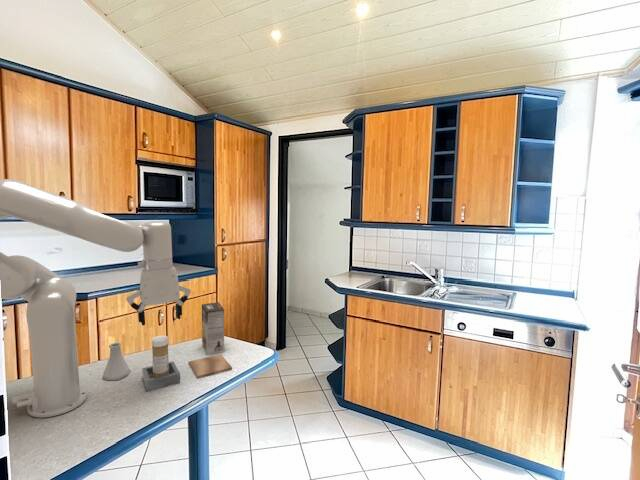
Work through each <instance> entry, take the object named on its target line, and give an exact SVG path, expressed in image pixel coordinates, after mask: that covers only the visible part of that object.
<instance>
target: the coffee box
mask: <svg viewBox="0 0 640 480" xmlns="http://www.w3.org/2000/svg"><path fill="white" fill-rule="evenodd" d="M201 343H202V344H201V345H202V348H203V349H204V352H205V354H206V355H207V356H208V355H209V356H210V355H214V354H215V355H216V354H220V353H223V352H225V308H224V307H223V305H221V303H220V302H219V301H217V302H210V303H203V304H201Z"/></svg>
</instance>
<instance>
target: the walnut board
mask: <svg viewBox="0 0 640 480" xmlns="http://www.w3.org/2000/svg"><path fill="white" fill-rule="evenodd" d="M187 362H188V363H187V364H188V365H189V366H188V367H190V369H191V371H192V373H193V375H194V376H195V377H196V379H197V378H198V379H201V377H202V378H206V377H209V376H213V375H217V374H220V372H221V373H224V371H225V372H228V371H232V370H233V367H232V366H231V364H230V363H229V362H228V361H227V360H226V358H225V357H224V356H223V355H222V354H220V353H219V354H215V355H211V356H208V357H202V358H199V359H198V358H197V359H195V360H189V361H187ZM205 376H206V377H205Z"/></svg>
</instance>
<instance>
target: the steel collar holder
mask: <svg viewBox="0 0 640 480" xmlns="http://www.w3.org/2000/svg"><path fill="white" fill-rule="evenodd" d="M141 369H142V370H141V371H142V374H141V375H142V376H141V377H142V380H143V383H144V387H145V391H146V392H151V391H155V390H158V389H159V390H160V389H161V388H165V387H169V386H173V385H174V386H175V385H178V384H181V373H180V371H179V369H178V367H177V365H176V363H175V361H169V369H168V371H169V373H170V374H169V375H165V376H161V377H157V378H153V365H151V366H147V367H142V368H141Z"/></svg>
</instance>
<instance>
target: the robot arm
mask: <svg viewBox="0 0 640 480" xmlns="http://www.w3.org/2000/svg"><path fill="white" fill-rule="evenodd" d="M8 218H14V219H17V220H21V221H25V222H27V223H30V224H34V225H37V226H41V227H44V228H47V229H50V230H53V231H56V232H60V233H63V234H65V235H68V236H71V237H75V238H77V239H81V240H84V241H87V242H89V243H92V244H96V245H99V246H102V247H105V248H108V249H112V250H115V251H118V252H123V253H131V252H134V251H137V250H138V249H140V248H141V247H142V250H143V251H142V252H143V259H142V260H141V261H138V262H137V266H138V268H139V267H142V268H143V269H141V273H140V279H139V280H140V281H139V284H140V285H139V290H136V291H135V292H132V294H129V295H128V296H126V298H125V299H126V302H128V304H129V305H130V307H131V308H132V309H134V310H135V311H137V317H138V322H139V323H140V324H141V326H145V325H146V316H145V313H146V312H145V311H144V309H145V308H146V307H147V306H149V307H150V306H158V305H163V304H170V303H174V302H175V305H174V306H175V317H176V318H177V320H181V318H182V317H181V316H182V315H183V305H184V303H186V301H187V300H188V299H189V296H190V294H191V292H192V290H191V289H190V288H188V287H185V286H182V285H179V277H178V271H177V269H176V267H175V266H173V249H172V248H173V246H172V226H171V224H170V222H167V221H161V220H160V221H153V220H152V221H147V222H146V221H145V222H144V221H143V222H141V221H139V222H138V221H130V220H124V221H123V220H121V219H116V218H114V217H112V216H108V215H105V214H102V213H100V212H98V211H95V210H93V209H91V208H89V207H87V206H86V205H84V204H82V203H81V202H79V201H77V200H73V199H71V198H67V197H64V196H61V195H58V194H56V193H53V192H50V191H48V190H44V189H41V188H39V187H35V186H32V185H30V184H29V183H27V182H25V181H22V180H18V179H11V178H10V179H9V178H4V179H0V221H1V220H4V219H8ZM0 280H1V298H2V299H1V300H9V301H10V300H15V299H18V298H21V299H23V300H25V301H27V306H26V309H25V314H26V315H25V316H26V323H27V328H28V334H29V345H30V353H31V367H32V381H33V391H32V392H31V391H30V392H28V394H24V395H17V396H12V398H11V405H12V406H16V408H17V409H19V408H23V407H25V406H27V408H26V409H27V414H28V415H29V414H30V415H29V416H31V417H33V418H51V417H55V416H59V415H64V414H66V413H68V412H71V411H72V410H74V409H77V408H78V407H80V406H81V405H82V404H83V403H84V402H85V401H86V399H87V397H88V393H87V390H86V389H85V388H83V387H80V376H79V375H80V373H79V370H80V369H79V356H78V353H79V352H78V341H77V329H76V327H77V325H76V315H75V313H76V311H75V310H76V309H75V307H76V301H77V291H76V289H75V287H74V285H73V284H72V283H70V282H69V281H67V280H66V279H65V278H64V277H62V276H60V275H58V274H57V273H55V271H54V272H53V271H52V270H51V269H49V268H47V267H46V266H44V265H43V264H41V263H40V262H38V261H36V260H34V259H32V258H30V257H28V256H24V255H9V256H8V255H6V254H4V253H3V252H1V251H0ZM180 291H181V292H183V294H182V296H181V297H180ZM138 297H140V302H139V304H138V303H136V302H135V301H134V300H135V299H136V298H138Z"/></svg>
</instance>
